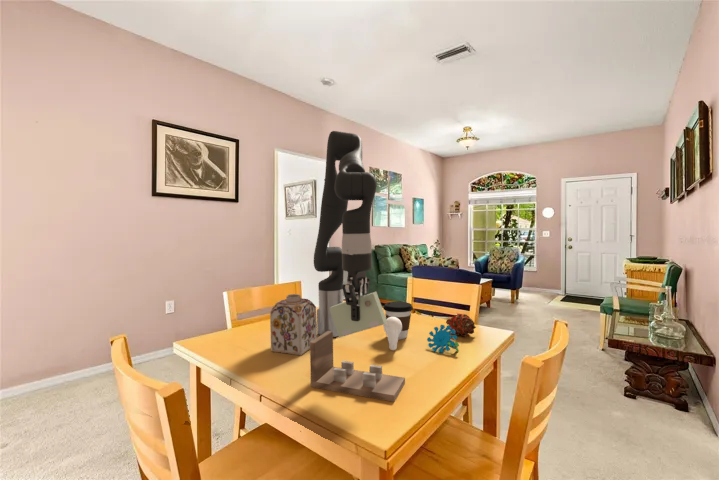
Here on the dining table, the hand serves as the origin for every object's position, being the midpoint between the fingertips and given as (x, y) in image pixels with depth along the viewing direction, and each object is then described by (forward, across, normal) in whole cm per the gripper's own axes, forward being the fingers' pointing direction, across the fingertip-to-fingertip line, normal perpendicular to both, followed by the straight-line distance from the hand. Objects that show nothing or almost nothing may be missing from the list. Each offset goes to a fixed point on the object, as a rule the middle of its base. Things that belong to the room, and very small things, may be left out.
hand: (357, 319), depth 87 cm
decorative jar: (+17, -18, -31) cm, 39 cm away
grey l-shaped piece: (+17, 0, 0) cm, 17 cm away
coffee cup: (+17, -41, 0) cm, 44 cm away
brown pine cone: (+17, -51, +20) cm, 58 cm away
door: (+3, 0, +1) cm, 3 cm away
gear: (+17, -32, +17) cm, 41 cm away
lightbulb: (+17, -27, +2) cm, 32 cm away
